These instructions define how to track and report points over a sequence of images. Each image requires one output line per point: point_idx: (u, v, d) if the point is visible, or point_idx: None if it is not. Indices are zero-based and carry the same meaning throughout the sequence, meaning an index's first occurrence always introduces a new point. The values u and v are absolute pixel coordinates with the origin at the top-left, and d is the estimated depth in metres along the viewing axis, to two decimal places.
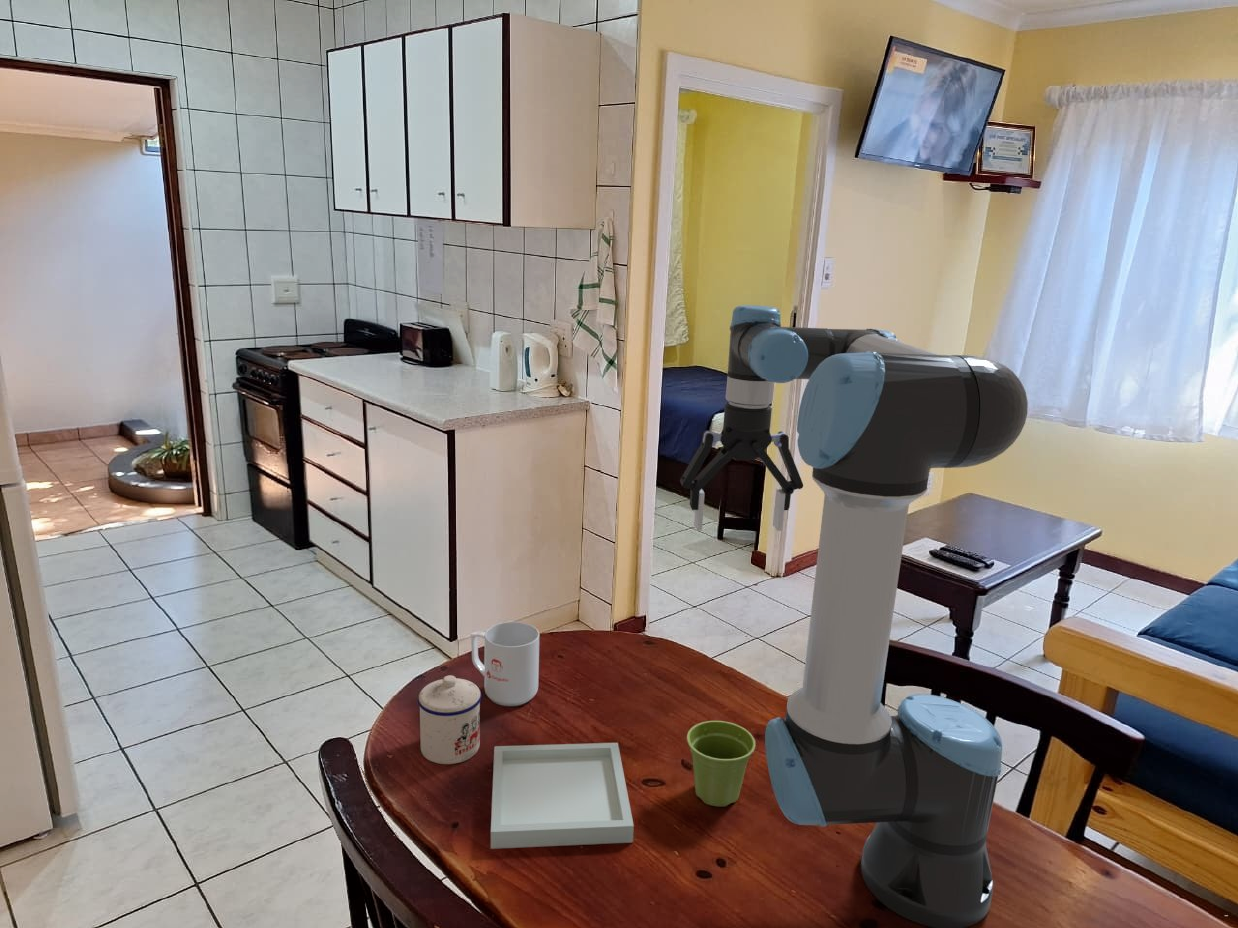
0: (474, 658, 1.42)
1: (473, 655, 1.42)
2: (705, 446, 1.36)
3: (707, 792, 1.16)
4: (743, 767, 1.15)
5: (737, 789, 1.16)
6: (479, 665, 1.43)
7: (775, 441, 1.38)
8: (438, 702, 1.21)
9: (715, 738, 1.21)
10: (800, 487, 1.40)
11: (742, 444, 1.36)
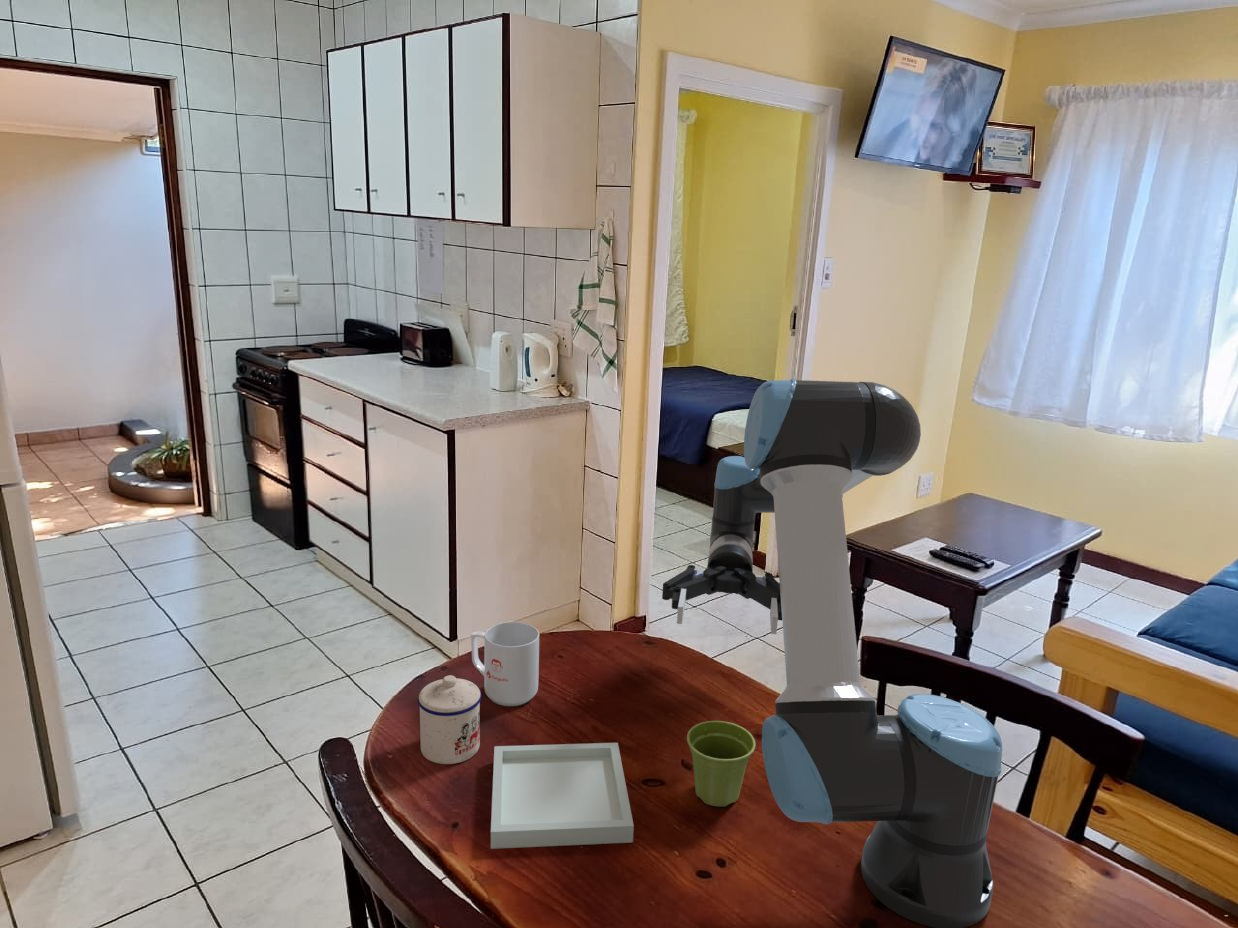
0: (474, 658, 1.42)
1: (473, 655, 1.42)
2: (687, 569, 1.37)
3: (707, 792, 1.16)
4: (743, 767, 1.15)
5: (737, 789, 1.16)
6: (479, 665, 1.43)
7: (760, 579, 1.36)
8: (438, 702, 1.21)
9: (715, 738, 1.21)
10: None
11: (724, 567, 1.37)
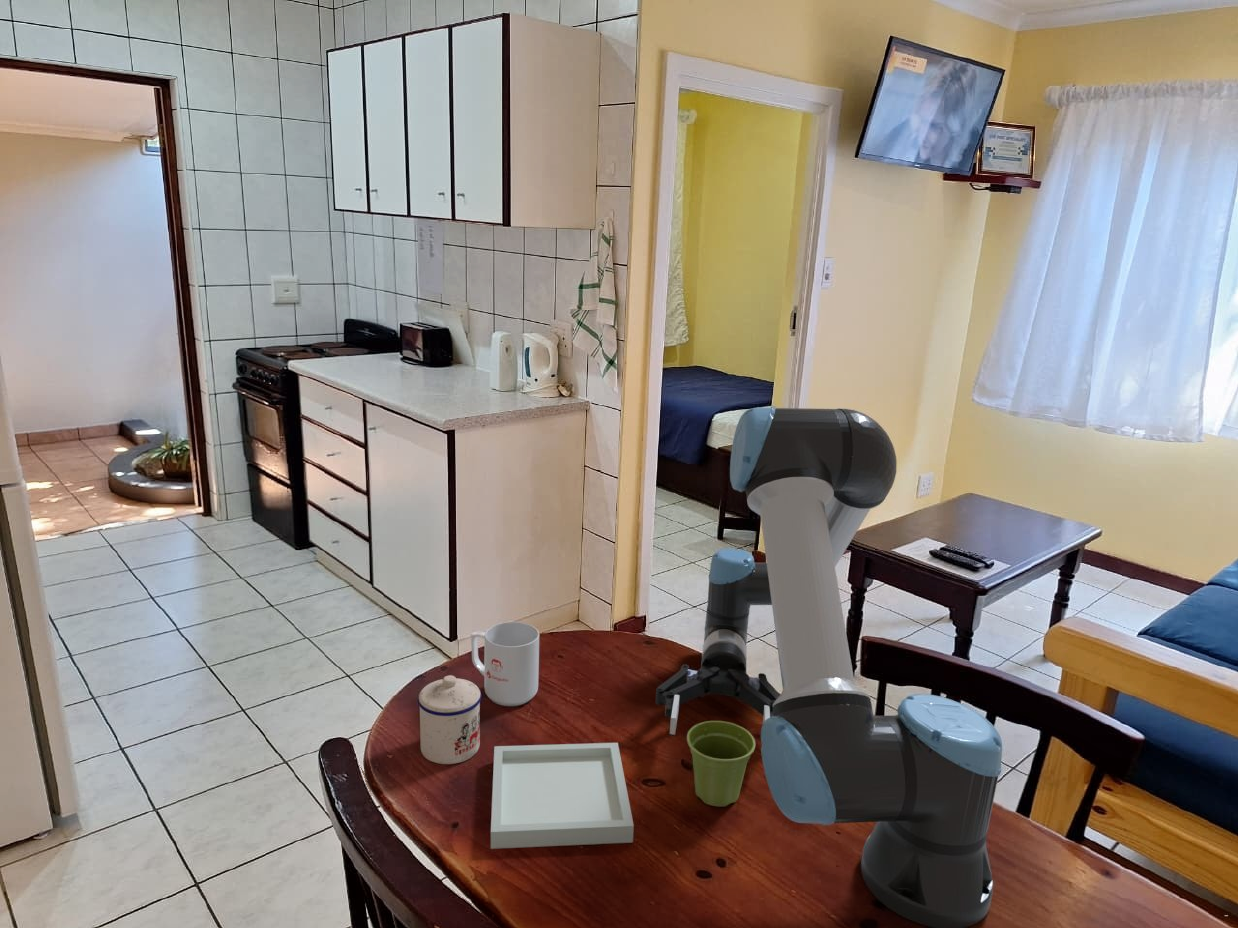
0: (474, 658, 1.42)
1: (473, 655, 1.42)
2: (680, 670, 1.37)
3: (707, 792, 1.16)
4: (743, 767, 1.15)
5: (737, 789, 1.16)
6: (479, 665, 1.43)
7: (753, 680, 1.37)
8: (438, 702, 1.21)
9: (715, 738, 1.21)
10: None
11: (717, 668, 1.37)
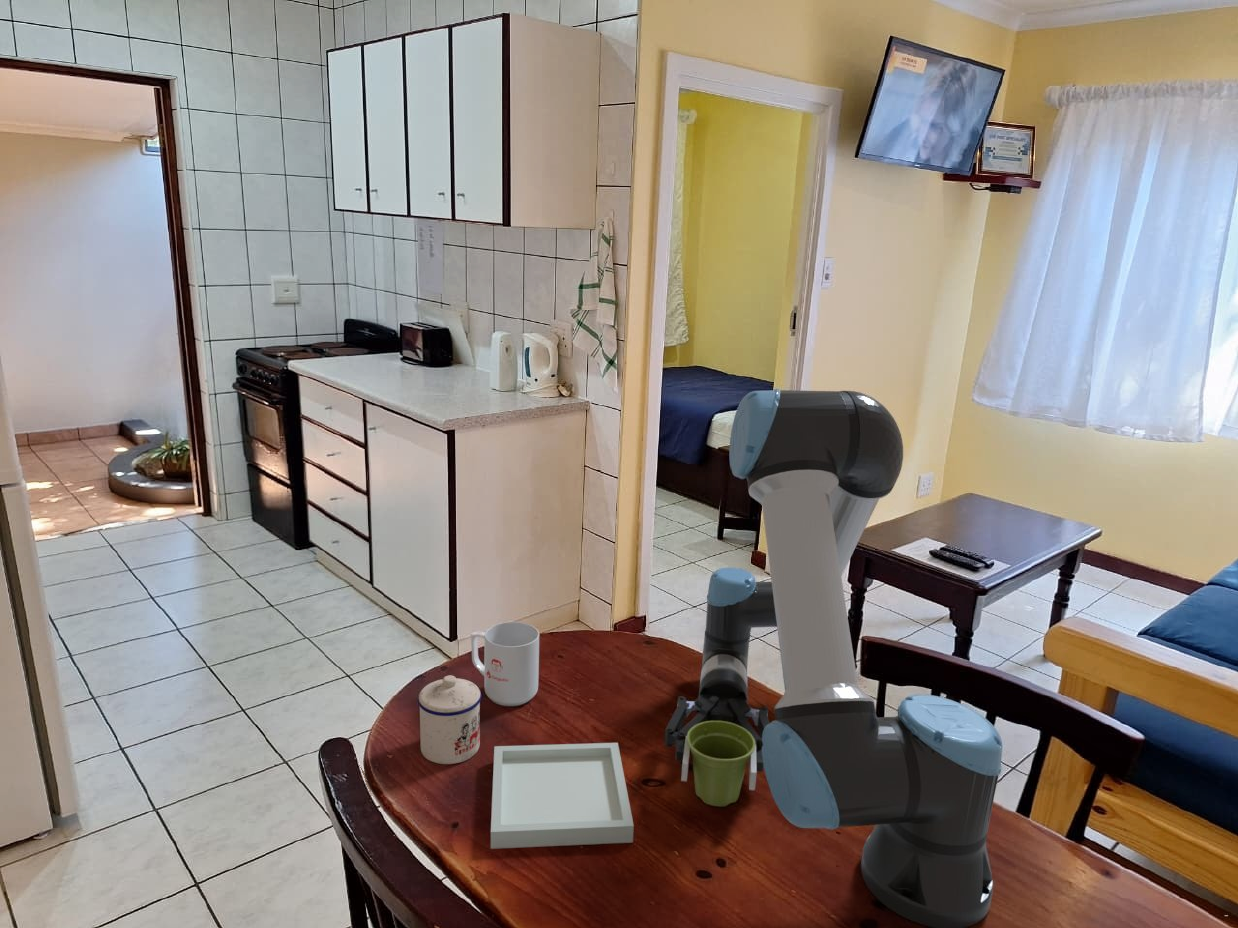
0: (474, 658, 1.42)
1: (473, 655, 1.42)
2: (679, 703, 1.27)
3: (707, 792, 1.16)
4: (743, 767, 1.15)
5: (737, 789, 1.16)
6: (479, 665, 1.43)
7: (754, 712, 1.27)
8: (438, 702, 1.21)
9: (715, 738, 1.21)
10: None
11: (716, 697, 1.28)
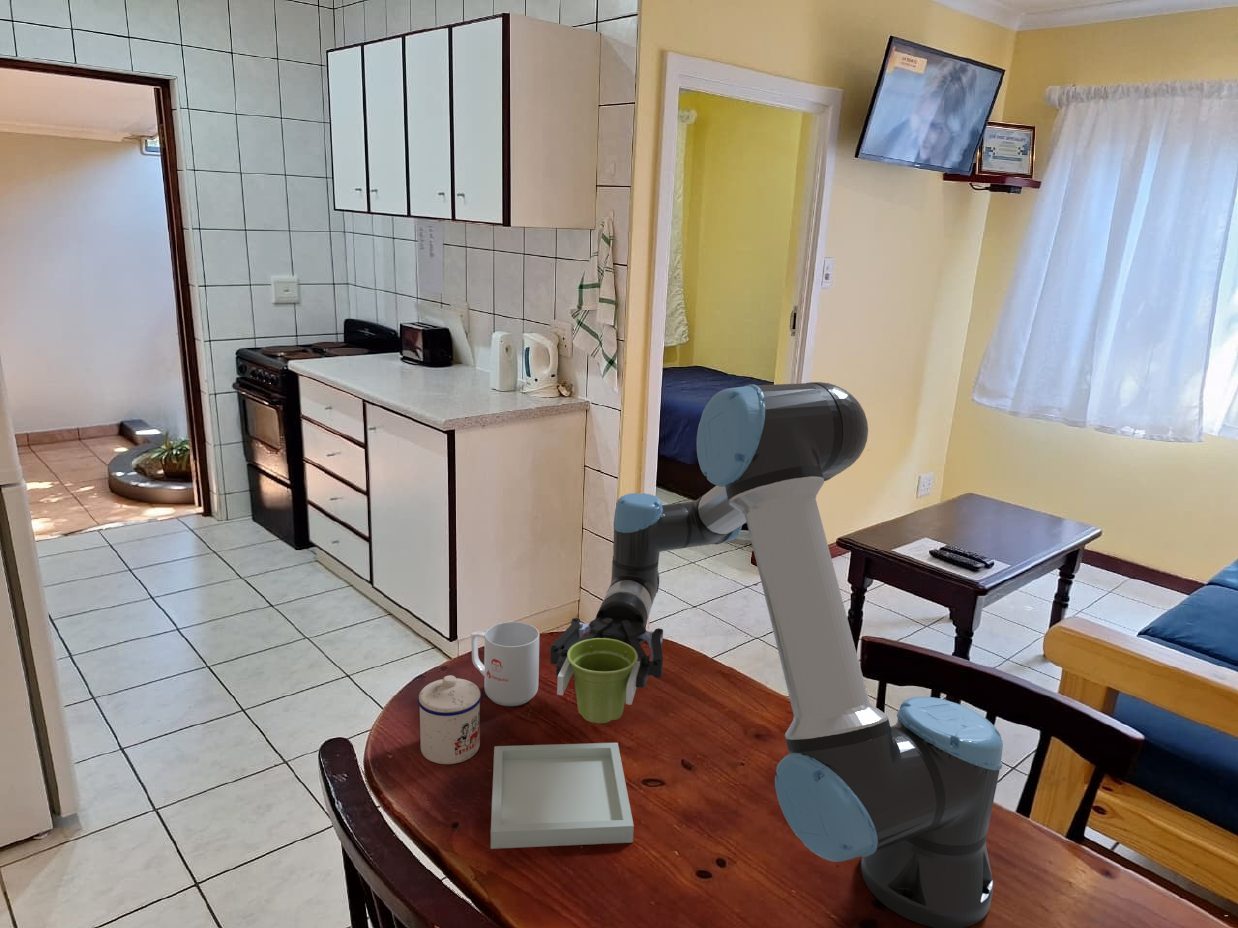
0: (474, 658, 1.42)
1: (473, 655, 1.42)
2: (572, 624, 1.24)
3: (586, 708, 1.12)
4: (623, 682, 1.11)
5: (618, 705, 1.12)
6: (479, 665, 1.43)
7: (648, 634, 1.23)
8: (438, 702, 1.21)
9: (601, 656, 1.17)
10: (658, 660, 1.15)
11: (610, 619, 1.24)
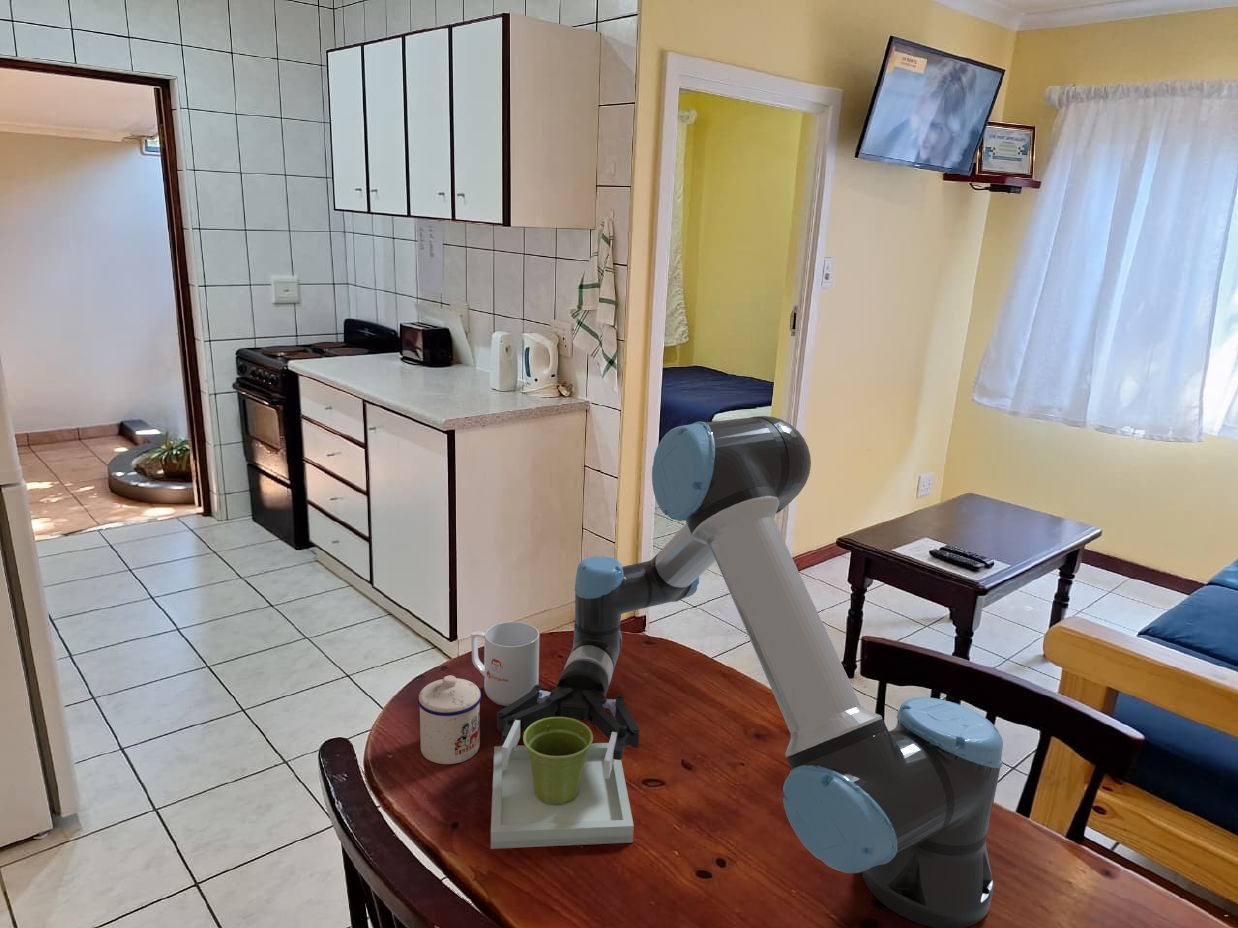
0: (474, 658, 1.42)
1: (473, 655, 1.42)
2: (531, 691, 1.25)
3: (542, 790, 1.13)
4: (578, 764, 1.12)
5: (573, 787, 1.13)
6: (479, 665, 1.43)
7: (610, 702, 1.25)
8: (438, 702, 1.21)
9: (558, 735, 1.18)
10: (636, 730, 1.17)
11: (571, 689, 1.25)
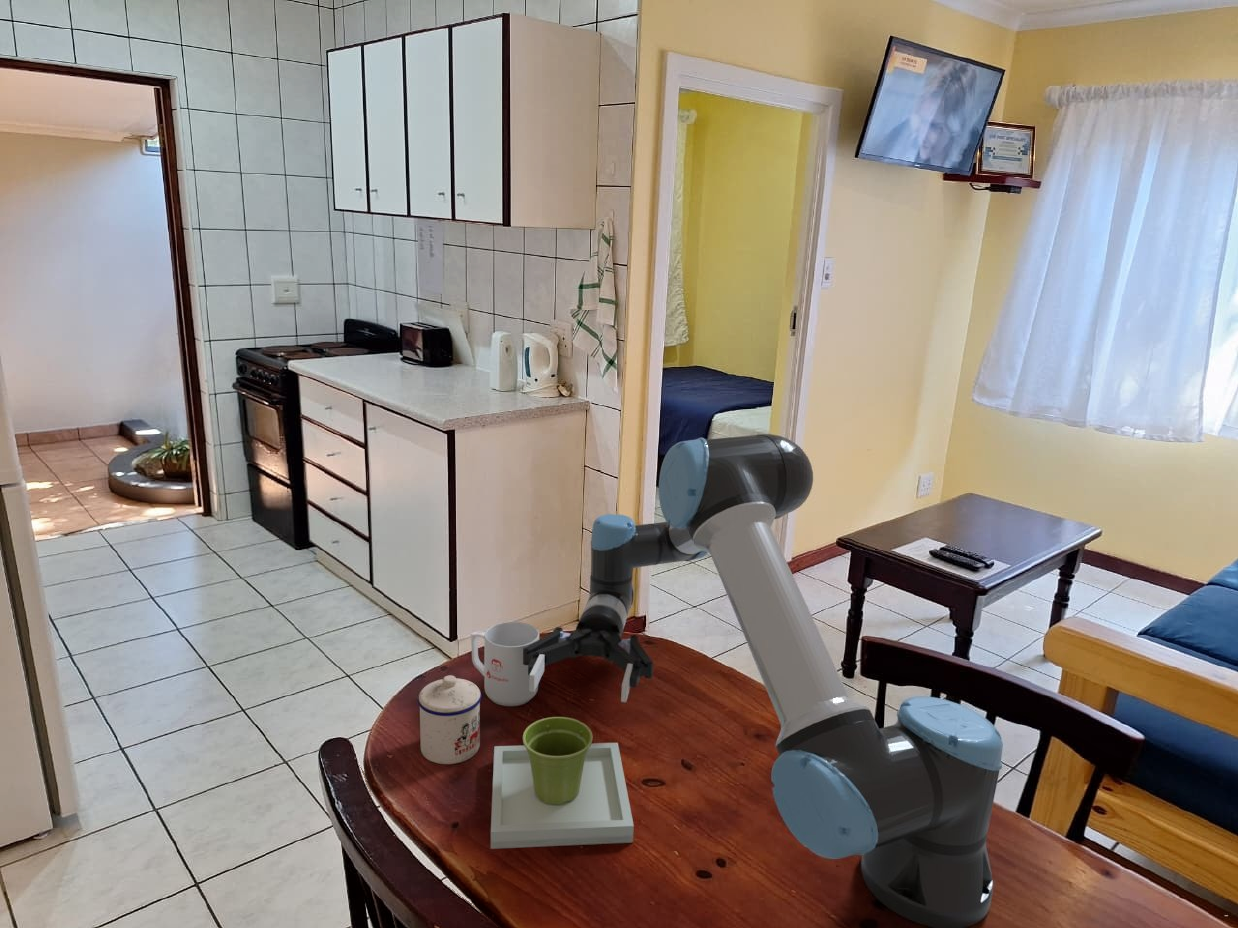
0: (474, 658, 1.42)
1: (473, 655, 1.42)
2: (553, 632, 1.37)
3: (542, 790, 1.13)
4: (578, 764, 1.12)
5: (573, 787, 1.13)
6: (479, 665, 1.43)
7: (625, 641, 1.37)
8: (438, 702, 1.21)
9: (558, 735, 1.18)
10: (649, 662, 1.29)
11: (589, 630, 1.37)
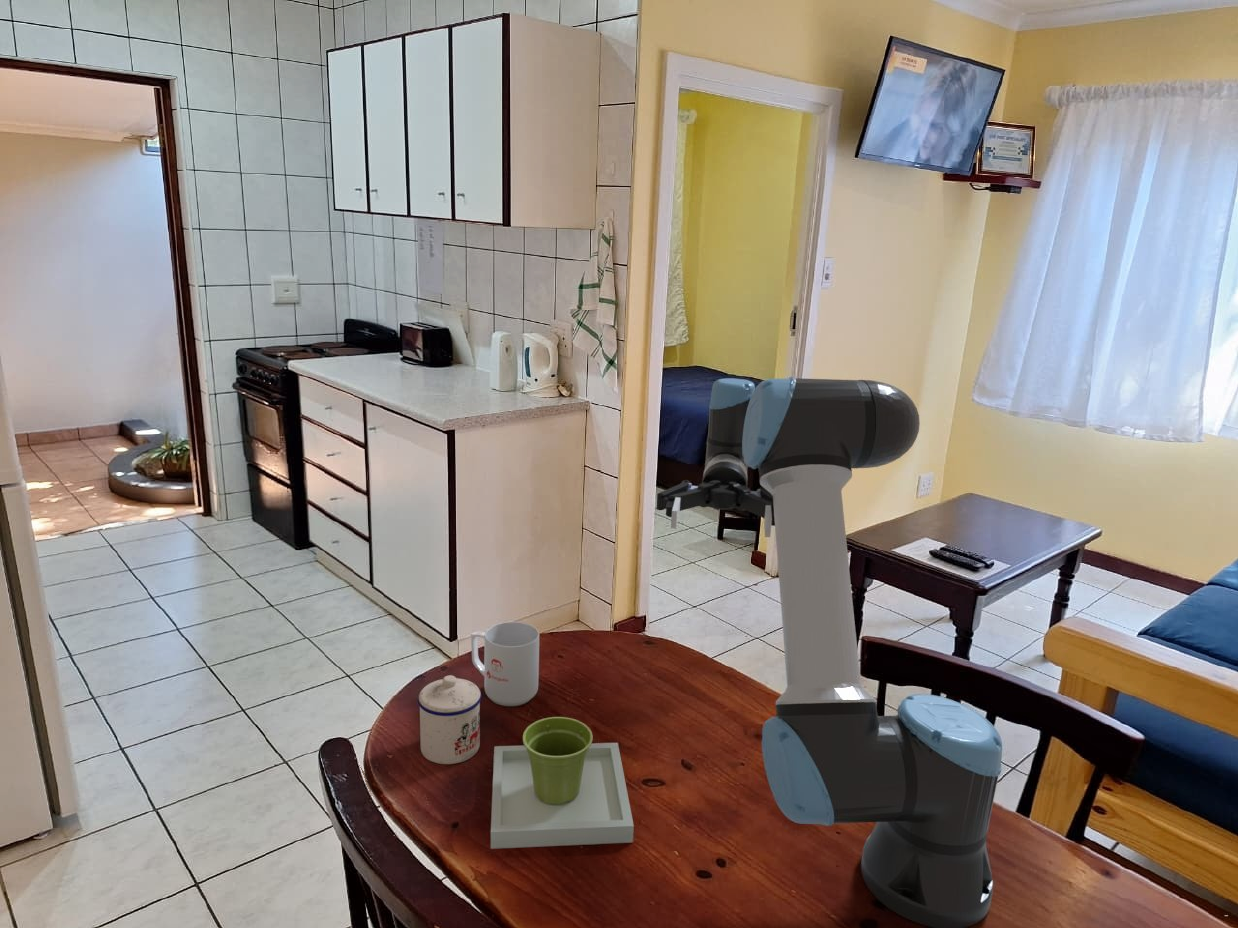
0: (474, 658, 1.42)
1: (473, 655, 1.42)
2: (681, 483, 1.37)
3: (542, 790, 1.13)
4: (578, 764, 1.12)
5: (573, 787, 1.13)
6: (479, 665, 1.43)
7: (754, 493, 1.36)
8: (438, 702, 1.21)
9: (558, 735, 1.18)
10: None
11: (718, 481, 1.37)
